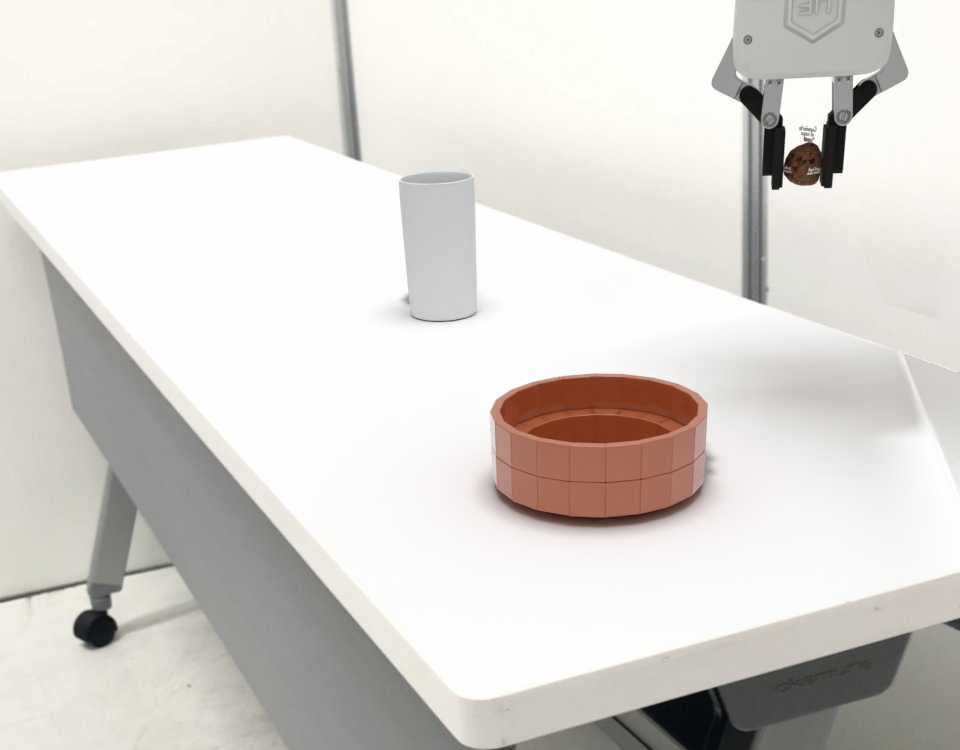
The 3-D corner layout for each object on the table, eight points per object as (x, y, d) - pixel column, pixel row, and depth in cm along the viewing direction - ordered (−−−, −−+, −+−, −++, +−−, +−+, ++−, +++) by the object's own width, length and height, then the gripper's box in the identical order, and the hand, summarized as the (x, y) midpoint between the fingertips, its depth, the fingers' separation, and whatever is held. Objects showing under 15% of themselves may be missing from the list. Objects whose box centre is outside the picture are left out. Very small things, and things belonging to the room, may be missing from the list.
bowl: (705, 447, 81) (709, 374, 79) (701, 530, 70) (705, 449, 68) (511, 442, 84) (509, 371, 81) (477, 522, 72) (473, 443, 70)
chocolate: (771, 185, 86) (775, 125, 84) (797, 182, 87) (801, 122, 85) (798, 191, 84) (802, 129, 82) (824, 187, 85) (828, 125, 83)
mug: (467, 323, 110) (461, 184, 104) (397, 321, 111) (387, 183, 105) (497, 295, 118) (493, 164, 112) (432, 293, 120) (424, 164, 114)
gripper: (688, -113, 75) (682, 199, 84) (966, -135, 72) (928, 191, 81) (692, -108, 81) (686, 181, 90) (947, -128, 78) (915, 173, 87)
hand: (801, 183), depth 85 cm, fingers closed on chocolate, 2 cm apart
